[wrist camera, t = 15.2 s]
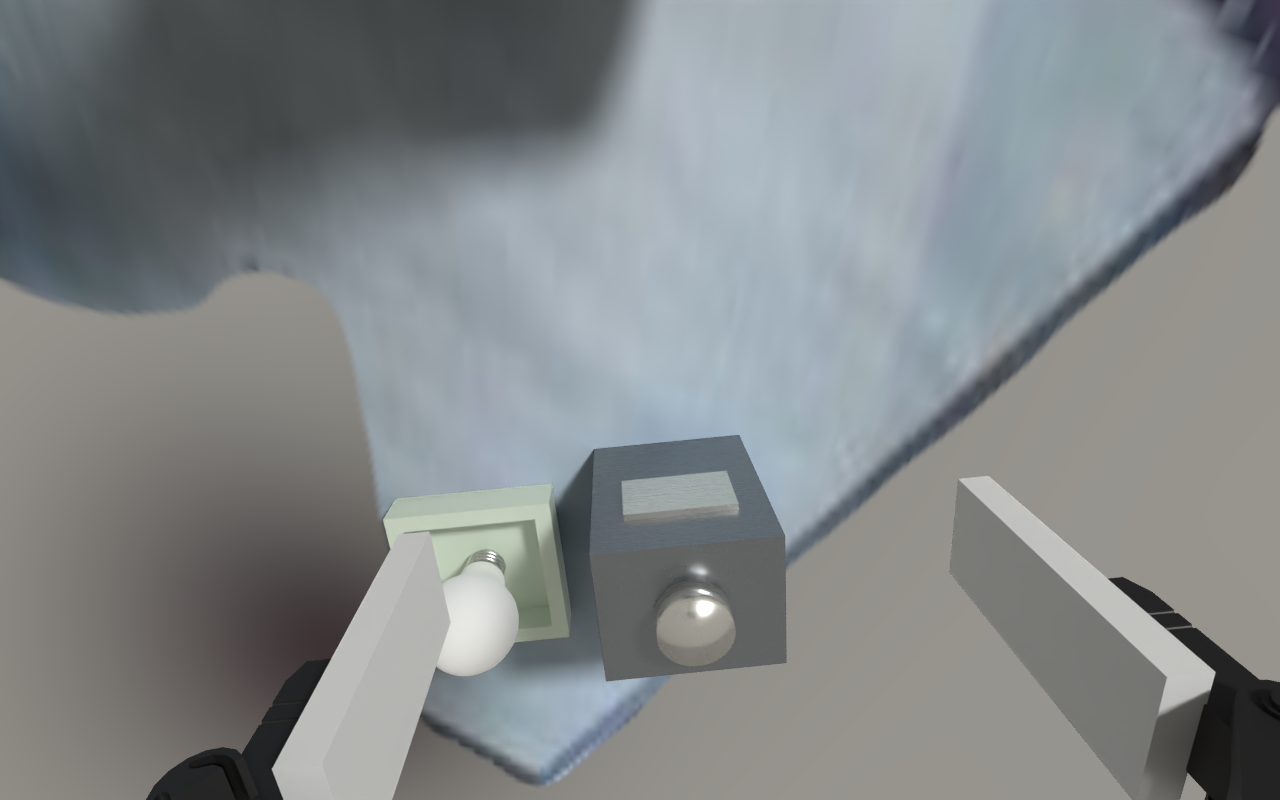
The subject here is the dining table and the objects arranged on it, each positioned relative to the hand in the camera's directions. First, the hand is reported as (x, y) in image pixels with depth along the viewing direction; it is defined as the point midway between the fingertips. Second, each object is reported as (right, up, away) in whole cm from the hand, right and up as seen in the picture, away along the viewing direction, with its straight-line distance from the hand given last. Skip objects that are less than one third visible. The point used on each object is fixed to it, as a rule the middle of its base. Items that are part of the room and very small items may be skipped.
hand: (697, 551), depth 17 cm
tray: (-14, -9, +37) cm, 40 cm away
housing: (+1, -4, +35) cm, 36 cm away
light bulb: (-13, -9, +36) cm, 39 cm away
